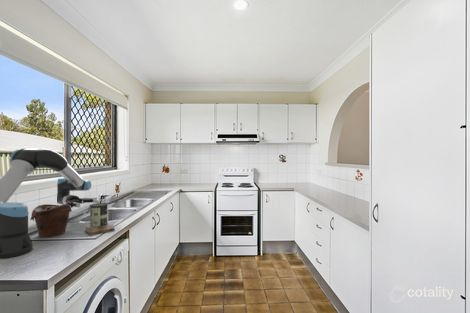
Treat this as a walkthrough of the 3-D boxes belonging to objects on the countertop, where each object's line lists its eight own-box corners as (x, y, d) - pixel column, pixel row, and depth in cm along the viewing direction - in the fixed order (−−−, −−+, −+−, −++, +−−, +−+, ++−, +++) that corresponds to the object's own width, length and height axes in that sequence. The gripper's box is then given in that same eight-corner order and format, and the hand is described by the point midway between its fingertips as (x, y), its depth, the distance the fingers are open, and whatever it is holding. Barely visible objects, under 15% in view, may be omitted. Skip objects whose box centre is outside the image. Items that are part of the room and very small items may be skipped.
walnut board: (88, 235, 146) (88, 232, 146) (85, 230, 154) (85, 228, 154) (114, 230, 155) (114, 228, 155) (109, 226, 163) (109, 224, 163)
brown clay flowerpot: (36, 231, 153) (36, 201, 153) (74, 227, 161) (74, 199, 160) (25, 241, 137) (24, 208, 136) (68, 236, 144) (68, 205, 144)
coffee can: (106, 223, 172) (106, 202, 172) (108, 226, 163) (108, 205, 163) (89, 225, 166) (89, 204, 166) (90, 229, 158) (90, 206, 158)
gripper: (88, 202, 191) (106, 205, 181) (52, 209, 168) (70, 213, 159) (88, 192, 190) (106, 195, 181) (52, 198, 168) (70, 201, 158)
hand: (89, 203), depth 170 cm, fingers open, 13 cm apart
